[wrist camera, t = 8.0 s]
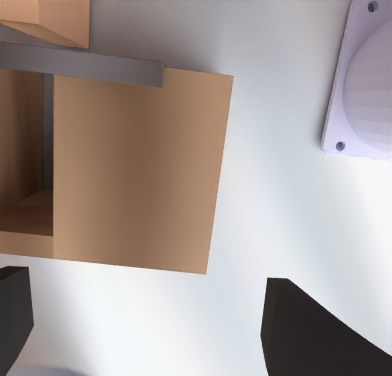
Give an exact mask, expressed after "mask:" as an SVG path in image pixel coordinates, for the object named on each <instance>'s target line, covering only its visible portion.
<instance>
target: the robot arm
mask: <svg viewBox="0 0 392 376" xmlns="http://www.w3.org/2000/svg"><path fill="white" fill-rule="evenodd" d="M369 3H372V4H373V5H374V11H373V12H370V11H369V10H368V4H369ZM338 142H341V143H342V147H341V149H339V150H337V149H336V144H337V143H338ZM320 147H321V150H322V151H323V152H325V153H328V154H333V155H342V156H350V157H359V158H368V159H376V160H385V161H392V0H353V1H352V3H351V5H350V9H349V14H348V18H347V23H346V28H345V32H344V37H343V41H342V46H341V51H340V55H339V60H338V65H337V69H336V74H335V78H334V83H333V88H332V92H331V97H330V101H329V106H328V111H327V115H326V120H325V125H324V129H323V134H322V138H321V143H320ZM33 326H34V321H33V310H32V300H31V289H30V278H29V267H18V266H7V267H4V268H0V376H6V374H7V373H8V371H9V370H10V368H11V367H12V365H13V364H14V362H15V361H16V359H17V358H18V356H19V354H20V352H21V350H22V348H23V346H24V345H25V343H26V341H27V339H28V337H29V334H30V332H31V330H32V328H33ZM260 335H261V341H262V347H263V353H264V358H265V363H266V368H267V372H268V375H269V376H392V356H391V355H389V354H387V353H386V352H384V351H383V350H381V349H380V348H378V347H377V346H375V345H374V344H372V343H371V342H369V341H368V340H367V339H365V338H364V337H362V336H361V335H360V334H358V333H357V332H355V331H354V330H352V329H351V328H350V327H348V326H347V325H346V324H344V323H343V322H342V321H340V320H339V319H338V318H337V317H335V316H334V315H333V314H331V313H330V312H329V311H328V310H326V309H325V308H324V307H323V306H321V305H320V304H319V303H318V302H316V301H315V300H314V299H313V298H312V297H310V296H309V295H308V294H307V293H305V292H304V291H303V290H302V289H301V288H299V287H298V286H297V285H296V284H294V283H293V282H292V281H290V280H289V279H286V278H267V285H266V294H265V302H264V310H263V318H262V326H261V334H260Z"/></svg>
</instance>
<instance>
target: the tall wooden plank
mask: <svg viewBox="0 0 392 376" xmlns="http://www.w3.org/2000/svg"><path fill="white" fill-rule="evenodd" d="M89 19H90V0H0V23H2V24H4V25H7V26H9V27H12V28H14V29H17V30H19V31H22V32H24V33H27V34H29V35H32V36H34V37H37V38H39V39H42V40H44V41H47V42H49V43H52V44H54V45H62V46H70V47H78V48H86V49H89Z"/></svg>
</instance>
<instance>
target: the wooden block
mask: <svg viewBox="0 0 392 376" xmlns="http://www.w3.org/2000/svg"><path fill="white" fill-rule="evenodd" d="M42 73H45V74H53V75H54V177H53V189H45V188H43V83H42ZM232 84H233V76H230V75H222V74H214V73H206V72H198V71H190V70H182V69H174V68H165V67H164V63H163V62H158V61H150V60H142V59H134V58H126V57H117V56H109V55H101V54H93V53H85V52H77V51H69V50H61V49H53V48H45V47H37V46H29V45H21V44H13V43H5V42H0V253H2V254H12V255H22V256H31V257H41V258H51V259H61V260H70V261H80V262H90V263H99V264H109V265H119V266H129V267H138V268H148V269H158V270H168V271H177V272H187V273H197V274H206V271H207V264H208V256H209V249H210V242H211V235H212V228H213V220H214V213H215V206H216V199H217V192H218V184H219V177H220V170H221V163H222V156H223V148H224V141H225V134H226V127H227V120H228V112H229V105H230V98H231V91H232Z"/></svg>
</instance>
